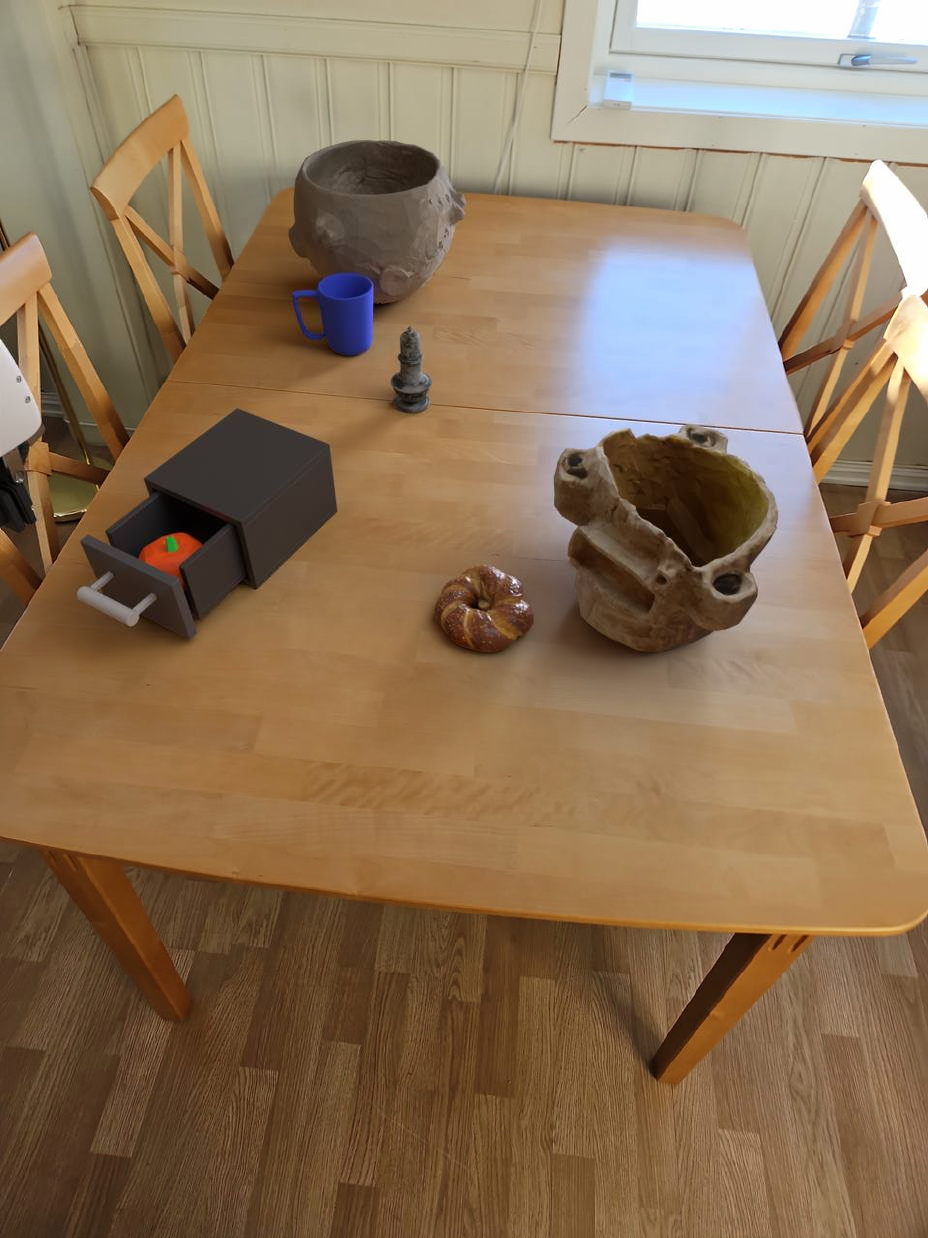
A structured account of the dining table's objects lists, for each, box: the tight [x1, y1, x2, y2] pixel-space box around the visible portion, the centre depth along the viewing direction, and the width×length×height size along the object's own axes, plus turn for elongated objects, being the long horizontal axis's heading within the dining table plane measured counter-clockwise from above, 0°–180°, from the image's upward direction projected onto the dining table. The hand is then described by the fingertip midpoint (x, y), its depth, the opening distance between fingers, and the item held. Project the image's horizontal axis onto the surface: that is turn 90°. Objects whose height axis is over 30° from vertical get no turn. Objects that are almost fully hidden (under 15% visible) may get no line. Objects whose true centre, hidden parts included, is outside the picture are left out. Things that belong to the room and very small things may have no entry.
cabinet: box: [143, 407, 338, 590], centre depth 97 cm, size 16×14×10 cm
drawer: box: [76, 490, 248, 641], centre depth 89 cm, size 19×13×8 cm, turn 150°
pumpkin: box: [138, 532, 203, 592], centre depth 89 cm, size 7×8×6 cm
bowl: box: [287, 139, 467, 305], centre depth 134 cm, size 27×29×20 cm
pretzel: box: [434, 564, 535, 653], centre depth 91 cm, size 12×11×4 cm
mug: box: [291, 273, 374, 356], centre depth 125 cm, size 8×12×10 cm
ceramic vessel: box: [553, 423, 779, 654], centre depth 85 cm, size 23×24×25 cm
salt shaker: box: [390, 325, 433, 414], centre depth 115 cm, size 6×6×12 cm
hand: (16, 521), depth 70 cm, fingers closed
